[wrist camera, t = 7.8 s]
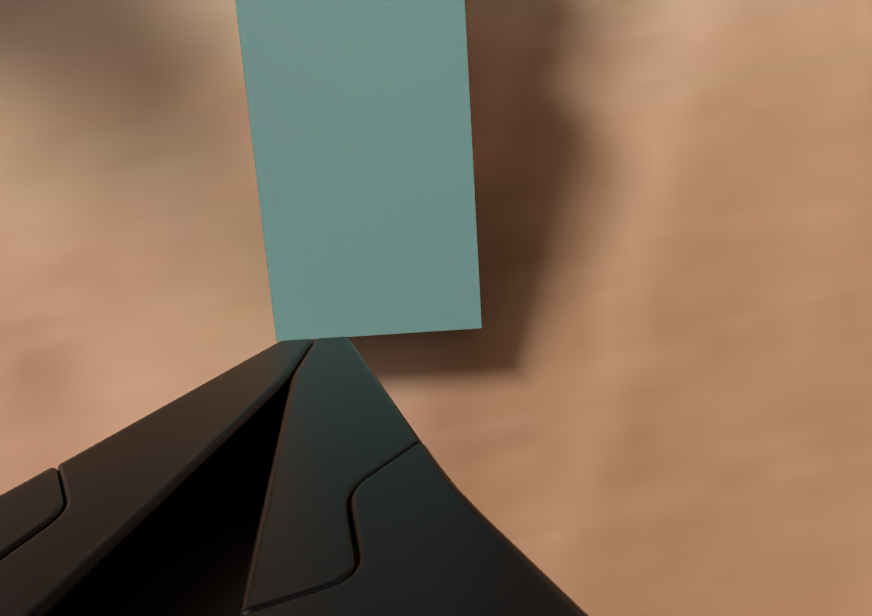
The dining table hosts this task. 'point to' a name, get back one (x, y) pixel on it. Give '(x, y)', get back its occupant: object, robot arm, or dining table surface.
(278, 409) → the robot arm
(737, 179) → the dining table surface
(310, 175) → the domino
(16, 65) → the dining table surface
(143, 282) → the dining table surface
